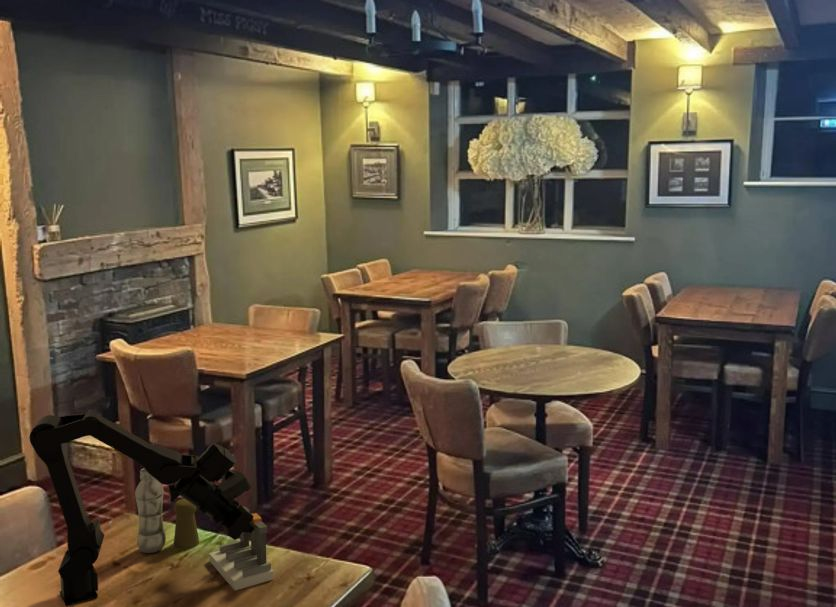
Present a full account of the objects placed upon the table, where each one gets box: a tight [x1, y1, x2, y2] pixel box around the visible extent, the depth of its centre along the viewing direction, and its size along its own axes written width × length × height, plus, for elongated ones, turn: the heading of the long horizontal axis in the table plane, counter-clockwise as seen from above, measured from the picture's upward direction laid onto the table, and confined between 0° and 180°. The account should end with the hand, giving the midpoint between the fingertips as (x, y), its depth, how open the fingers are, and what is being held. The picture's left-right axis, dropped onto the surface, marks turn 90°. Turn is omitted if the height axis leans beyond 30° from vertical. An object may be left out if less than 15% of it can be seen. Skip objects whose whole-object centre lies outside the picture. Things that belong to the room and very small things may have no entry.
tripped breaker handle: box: [250, 512, 263, 556], centre depth 183 cm, size 2×3×10 cm, turn 34°
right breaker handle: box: [254, 521, 269, 565], centre depth 178 cm, size 2×3×10 cm, turn 34°
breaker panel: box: [208, 540, 275, 591], centre depth 182 cm, size 9×16×4 cm, turn 34°
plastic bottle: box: [134, 467, 167, 554], centre depth 190 cm, size 6×7×20 cm
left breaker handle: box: [239, 506, 251, 548], centre depth 187 cm, size 2×3×10 cm, turn 34°
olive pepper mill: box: [173, 498, 200, 550], centre depth 194 cm, size 6×6×11 cm
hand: (252, 530), depth 182 cm, fingers closed, pressing on tripped breaker handle
